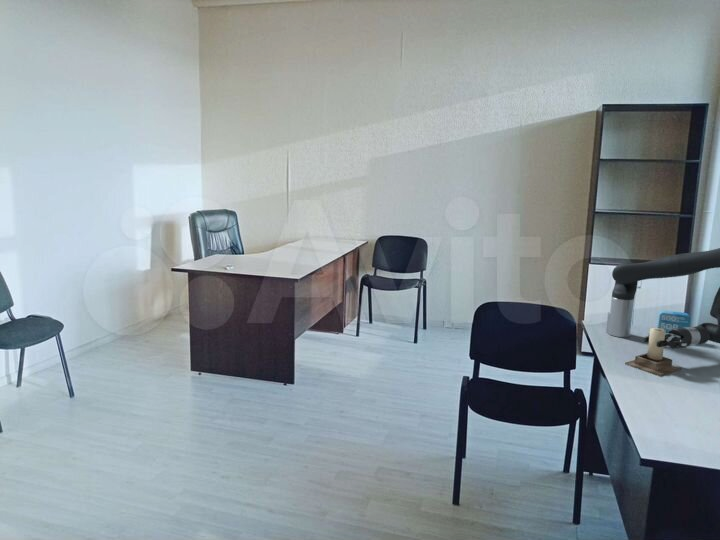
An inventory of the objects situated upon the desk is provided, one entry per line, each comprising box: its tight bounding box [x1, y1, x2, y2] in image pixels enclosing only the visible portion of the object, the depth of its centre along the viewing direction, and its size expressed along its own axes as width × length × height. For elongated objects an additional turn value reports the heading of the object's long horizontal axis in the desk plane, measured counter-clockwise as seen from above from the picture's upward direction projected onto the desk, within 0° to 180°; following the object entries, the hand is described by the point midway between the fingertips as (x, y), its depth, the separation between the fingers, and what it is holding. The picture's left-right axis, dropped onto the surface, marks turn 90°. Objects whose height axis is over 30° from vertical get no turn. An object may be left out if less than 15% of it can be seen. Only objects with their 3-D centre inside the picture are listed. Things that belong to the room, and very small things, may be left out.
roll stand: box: [624, 352, 682, 377], centre depth 215 cm, size 14×14×4 cm
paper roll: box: [646, 327, 665, 360], centre depth 213 cm, size 5×5×11 cm
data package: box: [656, 310, 691, 333], centre depth 249 cm, size 12×4×12 cm, turn 66°
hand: (651, 341), depth 212 cm, fingers closed on paper roll, 5 cm apart
